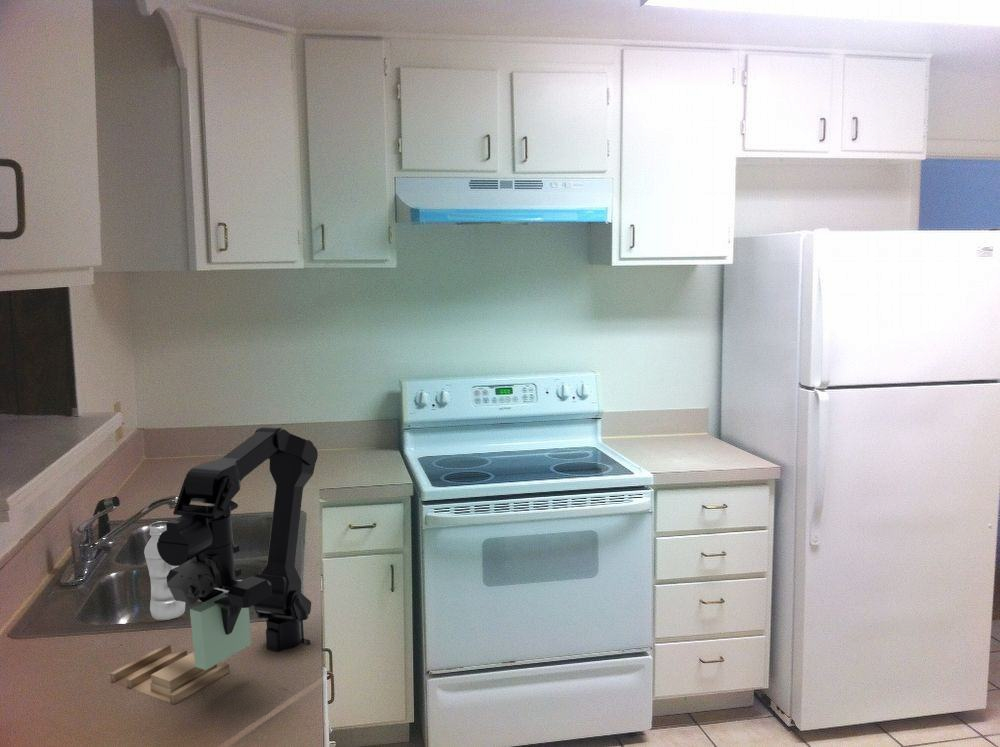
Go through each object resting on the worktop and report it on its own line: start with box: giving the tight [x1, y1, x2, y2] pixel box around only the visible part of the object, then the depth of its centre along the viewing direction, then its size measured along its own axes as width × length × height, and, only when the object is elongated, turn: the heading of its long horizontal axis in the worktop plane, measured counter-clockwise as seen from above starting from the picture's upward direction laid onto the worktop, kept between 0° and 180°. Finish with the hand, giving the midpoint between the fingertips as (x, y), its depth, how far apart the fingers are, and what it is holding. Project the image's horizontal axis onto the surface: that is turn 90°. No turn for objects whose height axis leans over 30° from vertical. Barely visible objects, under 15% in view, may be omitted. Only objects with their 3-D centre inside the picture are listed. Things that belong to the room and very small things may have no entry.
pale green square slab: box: [189, 593, 253, 670], centre depth 150 cm, size 10×2×10 cm, turn 150°
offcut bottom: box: [150, 664, 218, 698], centre depth 155 cm, size 10×5×2 cm, turn 150°
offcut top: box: [151, 651, 204, 690], centre depth 155 cm, size 9×5×2 cm, turn 150°
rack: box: [109, 643, 231, 705], centre depth 157 cm, size 12×16×2 cm
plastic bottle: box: [143, 520, 186, 621], centre depth 180 cm, size 6×7×20 cm
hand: (222, 631), depth 150 cm, fingers closed on pale green square slab, 2 cm apart
